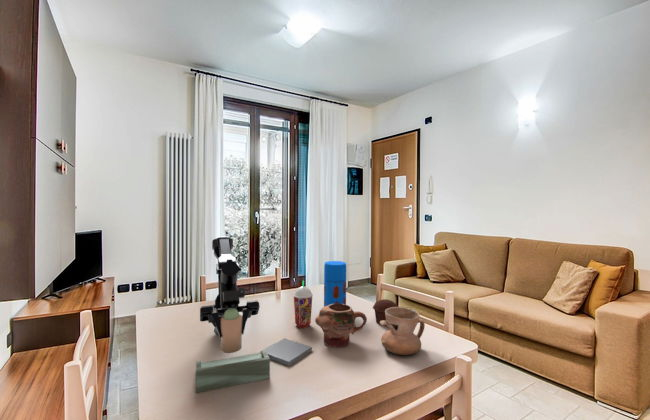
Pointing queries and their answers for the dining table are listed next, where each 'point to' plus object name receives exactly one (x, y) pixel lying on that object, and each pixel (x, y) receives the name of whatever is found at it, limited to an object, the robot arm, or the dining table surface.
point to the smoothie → (303, 306)
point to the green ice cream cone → (231, 331)
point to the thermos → (334, 282)
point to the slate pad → (287, 351)
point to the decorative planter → (338, 323)
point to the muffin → (382, 309)
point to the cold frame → (232, 371)
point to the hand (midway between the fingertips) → (231, 335)
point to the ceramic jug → (402, 331)
